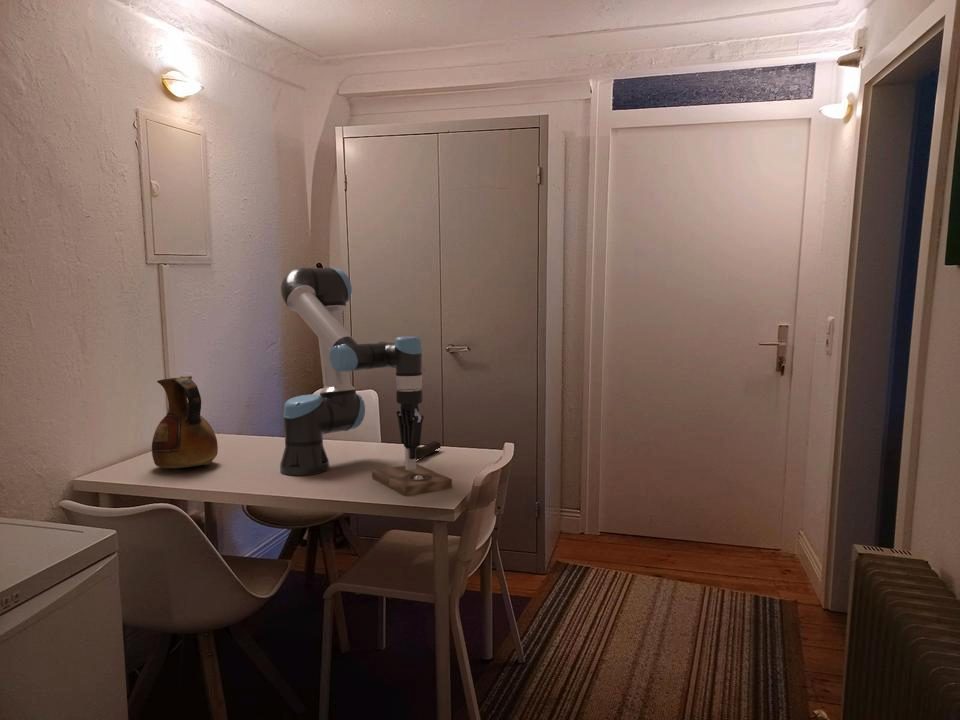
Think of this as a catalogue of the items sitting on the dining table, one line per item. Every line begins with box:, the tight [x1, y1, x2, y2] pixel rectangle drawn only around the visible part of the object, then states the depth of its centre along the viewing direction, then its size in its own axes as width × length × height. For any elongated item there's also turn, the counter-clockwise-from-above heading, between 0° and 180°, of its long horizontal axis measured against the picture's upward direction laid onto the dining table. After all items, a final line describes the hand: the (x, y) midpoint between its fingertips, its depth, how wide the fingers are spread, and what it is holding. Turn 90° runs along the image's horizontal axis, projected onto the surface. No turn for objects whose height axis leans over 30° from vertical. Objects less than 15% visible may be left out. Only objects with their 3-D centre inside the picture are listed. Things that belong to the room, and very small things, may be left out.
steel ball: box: [413, 475, 424, 480], centre depth 201 cm, size 3×3×3 cm
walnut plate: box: [371, 463, 453, 497], centre depth 205 cm, size 15×22×2 cm
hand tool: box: [416, 440, 441, 460], centre depth 238 cm, size 19×4×5 cm, turn 155°
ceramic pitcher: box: [151, 375, 219, 469], centre depth 224 cm, size 20×20×30 cm
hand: (410, 469), depth 205 cm, fingers closed
